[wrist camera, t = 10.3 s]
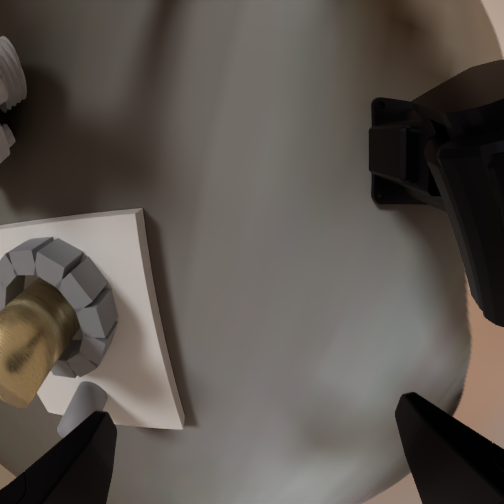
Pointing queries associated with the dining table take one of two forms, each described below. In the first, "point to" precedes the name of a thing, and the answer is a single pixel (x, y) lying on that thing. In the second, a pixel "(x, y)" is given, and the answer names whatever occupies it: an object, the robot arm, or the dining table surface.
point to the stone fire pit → (98, 316)
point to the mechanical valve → (9, 90)
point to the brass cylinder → (33, 340)
